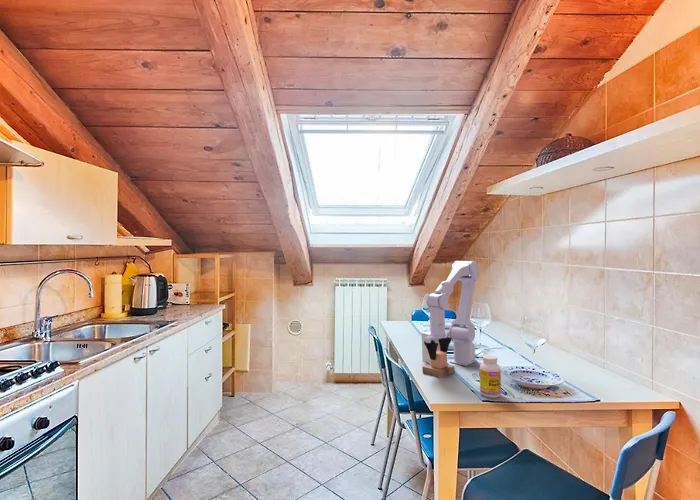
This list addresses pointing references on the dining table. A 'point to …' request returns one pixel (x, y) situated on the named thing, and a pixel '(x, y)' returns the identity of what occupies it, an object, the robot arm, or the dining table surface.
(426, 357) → the supplement box
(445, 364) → the terracotta block
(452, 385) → the dining table surface
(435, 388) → the dining table surface
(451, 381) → the dining table surface
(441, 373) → the walnut box
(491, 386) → the supplement bottle
